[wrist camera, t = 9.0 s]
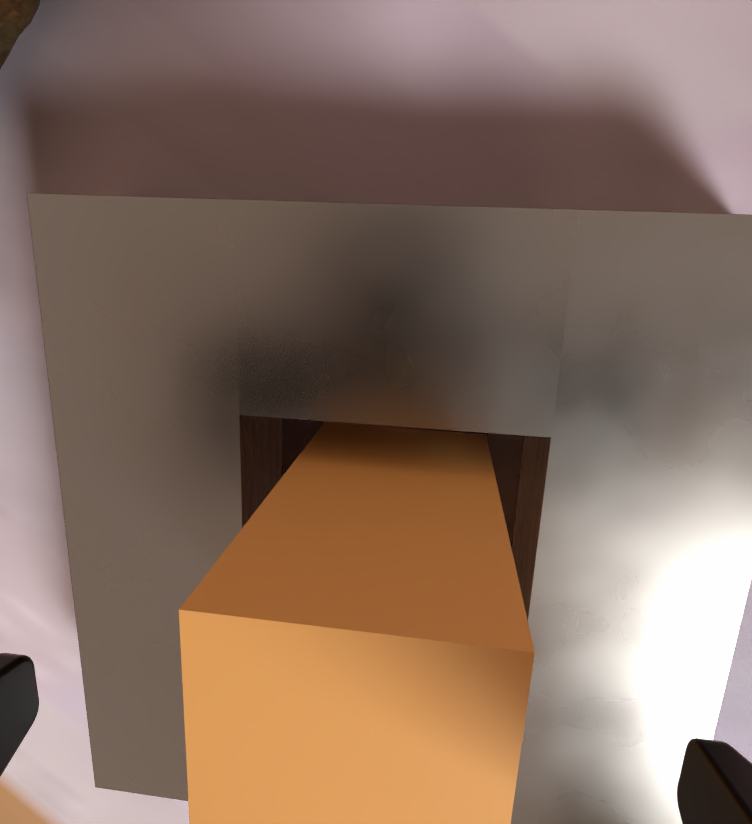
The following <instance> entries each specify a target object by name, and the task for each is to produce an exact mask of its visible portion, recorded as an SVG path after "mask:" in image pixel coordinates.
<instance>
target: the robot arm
mask: <svg viewBox="0 0 752 824" xmlns="http://www.w3.org/2000/svg"><path fill="white" fill-rule="evenodd" d="M38 707H39V698H38V691H37V684H36V677H35V670H34V664H33V661H32V660H31V658H30V657H28V656H25V655H18V654H10V653H1V654H0V776H1V775H2V773H3V771H4V770H5V768H6V767H7V765H8V763H9V762H10V760H11V758H12V757H13V755H14V753H15V752H16V750H17V749H18V747H19V745H20V744H21V742H22V740H23V739H24V737H25V735H26V734H27V732H28V731H29V729H30V727H31V726H32V724H33V722H34V720H35V718H36V715H37V712H38ZM677 802H678V808H679V813H680V816H681V820H682V823H683V824H752V763H750V762H749V761H748V760H747V759H746V758H745V757H743V756H742V755H741V754H740V753H739V752H738V751H736V750H735V749H734V748H733V747H731V746H730V745H729V744H727V743H725V742H722V741H716V740H708V739H700V738H694V739H691V740H690V741H689V742H688V744H687V747H686V750H685V755H684V759H683V764H682V768H681V773H680V777H679V781H678V786H677Z"/></svg>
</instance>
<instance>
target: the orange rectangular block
mask: <svg viewBox="0 0 752 824" xmlns="http://www.w3.org/2000/svg"><path fill="white" fill-rule="evenodd" d="M179 624H180V644H181V663H182V683H183V703H184V722H185V742H186V762H187V781H188V801H189V821H190V824H511V817H512V810H513V803H514V796H515V789H516V781H517V774H518V767H519V760H520V753H521V746H522V739H523V732H524V725H525V718H526V711H527V704H528V697H529V690H530V682H531V675H532V668H533V661H534V654H535V651H534V647H533V642H532V638H531V633H530V629H529V624H528V620H527V615H526V611H525V607H524V602H523V598H522V593H521V589H520V584H519V580H518V575H517V571H516V566H515V562H514V558H513V553H512V549H511V544H510V540H509V535H508V531H507V526H506V522H505V517H504V513H503V508H502V504H501V500H500V495H499V491H498V486H497V482H496V477H495V473H494V468H493V464H492V459H491V455H490V450H489V446H488V442H487V437H486V435H484V434H471V433H459V432H446V431H434V430H421V429H409V428H397V427H384V426H372V425H359V424H347V423H334V422H325V423H324V424H323V425H322V426H321V428H320V429H319V430H318V431H317V433H316V434H315V435H314V437H313V438H312V439H311V440H310V442H309V443H308V444H307V446H306V447H305V448H304V449H303V451H302V452H301V453H300V455H299V456H298V457H297V458H296V460H295V461H294V462H293V464H292V465H291V466H290V467H289V469H288V470H287V471H286V473H285V474H284V475H283V476H282V478H281V479H280V480H279V482H278V483H277V484H276V485H275V487H274V488H273V489H272V491H271V492H270V493H269V494H268V496H267V497H266V498H265V500H264V501H263V502H262V503H261V505H260V506H259V507H258V509H257V510H256V511H255V512H254V514H253V515H252V516H251V517H250V519H249V520H248V521H247V523H246V524H245V525H244V526H243V528H242V529H241V530H240V532H239V533H238V534H237V535H236V537H235V538H234V539H233V541H232V542H231V543H230V544H229V546H228V547H227V548H226V550H225V551H224V552H223V553H222V555H221V556H220V557H219V559H218V560H217V561H216V562H215V564H214V565H213V566H212V568H211V569H210V570H209V571H208V573H207V574H206V575H205V577H204V578H203V579H202V580H201V582H200V583H199V584H198V586H197V587H196V588H195V589H194V591H193V592H192V593H191V595H190V596H189V597H188V598H187V600H186V601H185V602H184V603H183V605H182V606H181V607H180V609H179Z"/></svg>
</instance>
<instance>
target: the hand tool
mask: <svg viewBox="0 0 752 824" xmlns="http://www.w3.org/2000/svg"><path fill="white" fill-rule="evenodd" d="M39 3H40V0H0V69H1V67H2V65H3V64H4V62H5V60H6V58H7V56H8V54H9V52H10V51H11V49H12V47H13V45H14V43H15V41H16V39H17V37H18V36H19V35H20V34H21V33H22V31H23V30H24V29H25V28H26V27H27V26H28V25H29V23H30V22H31V20H32V18H33V16H34V15H35V13H36V11H37V9H38V6H39Z"/></svg>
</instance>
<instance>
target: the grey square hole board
mask: <svg viewBox="0 0 752 824" xmlns="http://www.w3.org/2000/svg"><path fill="white" fill-rule="evenodd" d="M27 198H28V207H29V215H30V224H31V233H32V241H33V250H34V259H35V268H36V276H37V285H38V294H39V302H40V311H41V320H42V328H43V337H44V346H45V354H46V363H47V372H48V380H49V389H50V398H51V406H52V415H53V424H54V432H55V441H56V450H57V459H58V467H59V476H60V485H61V493H62V502H63V511H64V519H65V528H66V537H67V545H68V554H69V563H70V571H71V580H72V589H73V597H74V606H75V615H76V623H77V632H78V641H79V650H80V658H81V667H82V676H83V684H84V693H85V702H86V710H87V719H88V728H89V736H90V745H91V754H92V762H93V771H94V780H95V787H98V788H105V789H111V790H118V791H125V792H131V793H138V794H145V795H151V796H158V797H165V798H171V799H178V800H185V801H188V781H187V762H186V742H185V722H184V703H183V683H182V663H181V644H180V624H179V609H180V607H181V606H182V605H183V603H184V602H185V601H186V600H187V598H188V597H189V596H190V595H191V593H192V592H193V591H194V589H195V588H196V587H197V586H198V584H199V583H200V582H201V580H202V579H203V578H204V577H205V575H206V574H207V573H208V571H209V570H210V569H211V568H212V566H213V565H214V564H215V562H216V561H217V560H218V559H219V557H220V556H221V555H222V553H223V552H224V551H225V550H226V548H227V547H228V546H229V544H230V543H231V542H232V541H233V539H234V538H235V537H236V535H237V534H238V533H239V532H240V530H241V529H242V528H243V526H244V525H245V524H246V523H247V521H248V520H249V519H250V517H251V516H252V515H253V514H254V512H255V511H256V510H257V509H258V507H259V506H260V505H261V503H262V502H263V501H264V500H265V498H266V497H267V496H268V494H269V493H270V492H271V491H272V489H273V488H274V487H275V485H276V484H277V483H278V482H279V480H280V479H281V478H282V476H283V449H282V418H288V419H302V420H316V421H330V422H343V423H357V424H371V425H385V426H399V427H413V428H426V429H440V430H454V431H468V432H482V433H496V434H510V435H523V436H524V444H523V453H522V462H521V471H520V480H519V489H518V497H517V506H516V515H515V524H514V533H513V541H512V553H513V558H514V562H515V566H516V571H517V575H518V580H519V584H520V589H521V593H522V598H523V602H524V607H525V611H526V615H527V620H528V624H529V629H530V633H531V638H532V642H533V647H534V651H535V654H534V661H533V668H532V675H531V682H530V690H529V697H528V704H527V711H526V718H525V725H524V732H523V739H522V746H521V753H520V760H519V767H518V774H517V781H516V789H515V796H514V803H513V810H512V817H511V824H683V823H682V820H681V816H680V813H679V808H678V802H677V786H678V781H679V777H680V773H681V768H682V764H683V759H684V755H685V750H686V747H687V744H688V742H689V741H690V740H691V739H694V738H700V739H708V740H713V736H714V732H715V727H716V723H717V719H718V715H719V711H720V707H721V702H722V698H723V694H724V690H725V686H726V682H727V677H728V673H729V669H730V665H731V661H732V657H733V652H734V648H735V644H736V640H737V636H738V632H739V628H740V623H741V619H742V615H743V611H744V607H745V603H746V598H747V594H748V590H749V586H750V582H751V578H752V215H743V214H709V213H675V212H641V211H607V210H573V209H540V208H506V207H472V206H438V205H404V204H371V203H337V202H303V201H269V200H235V199H201V198H168V197H134V196H100V195H66V194H32V193H27Z"/></svg>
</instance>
